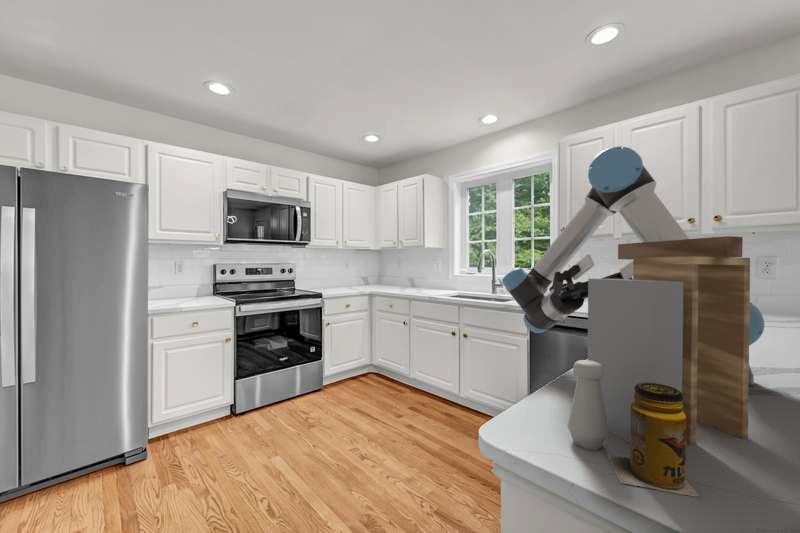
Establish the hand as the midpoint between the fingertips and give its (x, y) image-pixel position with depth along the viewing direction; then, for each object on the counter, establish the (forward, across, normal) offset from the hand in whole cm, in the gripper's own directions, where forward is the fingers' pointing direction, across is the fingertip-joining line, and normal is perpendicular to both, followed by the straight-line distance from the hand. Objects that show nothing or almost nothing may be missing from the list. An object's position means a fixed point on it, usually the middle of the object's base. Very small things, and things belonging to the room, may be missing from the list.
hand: (618, 260), depth 78 cm
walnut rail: (+10, -1, -6) cm, 11 cm away
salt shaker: (-1, +21, -34) cm, 40 cm away
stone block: (-2, +11, -33) cm, 35 cm away
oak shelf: (-3, -1, -33) cm, 33 cm away
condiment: (+7, +19, -39) cm, 44 cm away
